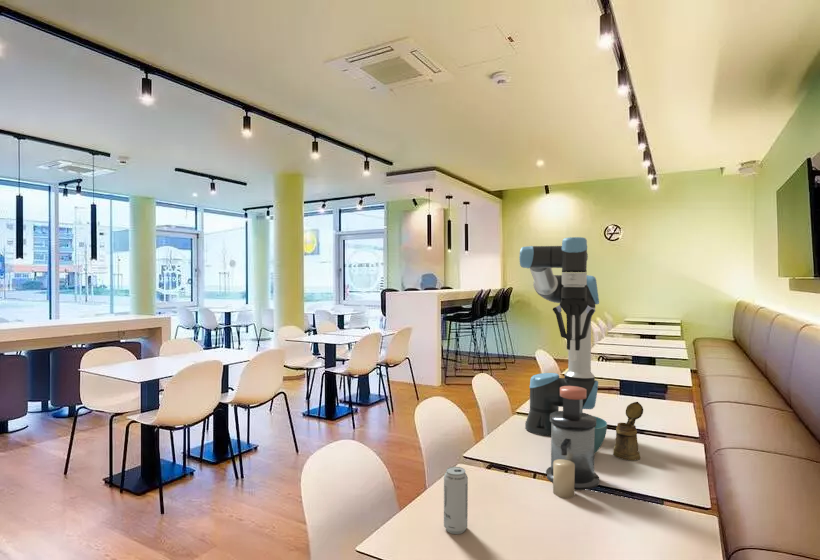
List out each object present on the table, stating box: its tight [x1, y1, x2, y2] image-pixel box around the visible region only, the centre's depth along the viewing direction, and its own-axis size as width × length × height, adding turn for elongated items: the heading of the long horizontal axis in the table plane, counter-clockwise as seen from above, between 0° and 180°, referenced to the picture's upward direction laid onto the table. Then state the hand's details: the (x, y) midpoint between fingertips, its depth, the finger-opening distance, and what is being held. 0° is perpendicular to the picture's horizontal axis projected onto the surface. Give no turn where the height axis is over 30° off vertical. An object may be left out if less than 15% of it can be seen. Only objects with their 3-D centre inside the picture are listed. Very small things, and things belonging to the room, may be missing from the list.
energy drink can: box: [443, 466, 469, 535], centre depth 121 cm, size 6×6×15 cm
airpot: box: [545, 398, 600, 491], centre depth 149 cm, size 21×16×26 cm
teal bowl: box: [593, 415, 608, 455], centre depth 172 cm, size 18×18×12 cm
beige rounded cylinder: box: [552, 459, 575, 499], centre depth 141 cm, size 6×6×9 cm
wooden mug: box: [612, 401, 644, 461], centre depth 172 cm, size 9×14×18 cm, turn 132°
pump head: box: [560, 386, 586, 400], centre depth 151 cm, size 8×8×8 cm
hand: (573, 360), depth 151 cm, fingers closed
